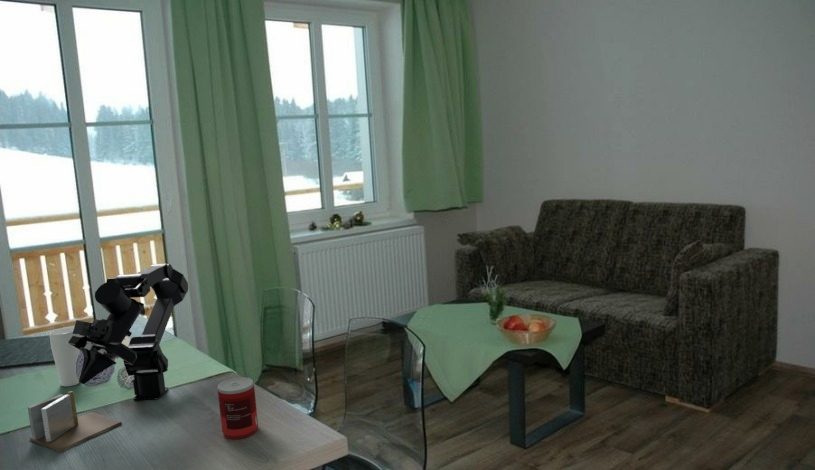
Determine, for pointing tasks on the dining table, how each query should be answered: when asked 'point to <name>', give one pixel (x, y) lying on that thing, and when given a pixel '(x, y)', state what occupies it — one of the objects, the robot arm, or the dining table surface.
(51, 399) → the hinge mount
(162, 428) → the dining table surface
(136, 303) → the robot arm
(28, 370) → the dining table surface
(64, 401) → the swinging leaf
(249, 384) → the canned food
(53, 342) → the white tapered cylinder
